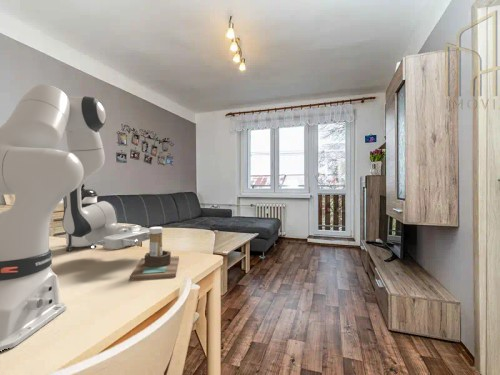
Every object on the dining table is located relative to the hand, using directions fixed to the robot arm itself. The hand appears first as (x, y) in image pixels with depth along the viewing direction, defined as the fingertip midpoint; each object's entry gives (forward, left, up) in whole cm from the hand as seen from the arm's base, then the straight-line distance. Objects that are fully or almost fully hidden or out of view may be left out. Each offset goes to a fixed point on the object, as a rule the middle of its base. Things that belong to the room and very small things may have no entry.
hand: (146, 239), depth 93 cm
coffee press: (+33, +34, -9) cm, 48 cm away
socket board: (-5, -5, -9) cm, 12 cm away
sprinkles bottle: (-4, -4, -8) cm, 10 cm away
